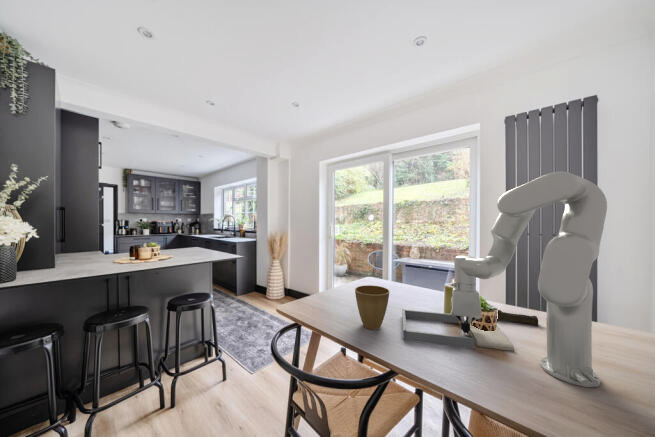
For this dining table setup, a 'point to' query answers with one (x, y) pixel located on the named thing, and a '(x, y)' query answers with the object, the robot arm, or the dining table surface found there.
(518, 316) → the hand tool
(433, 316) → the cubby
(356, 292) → the plant pot
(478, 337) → the washcloth
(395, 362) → the dining table surface
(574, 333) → the robot arm
